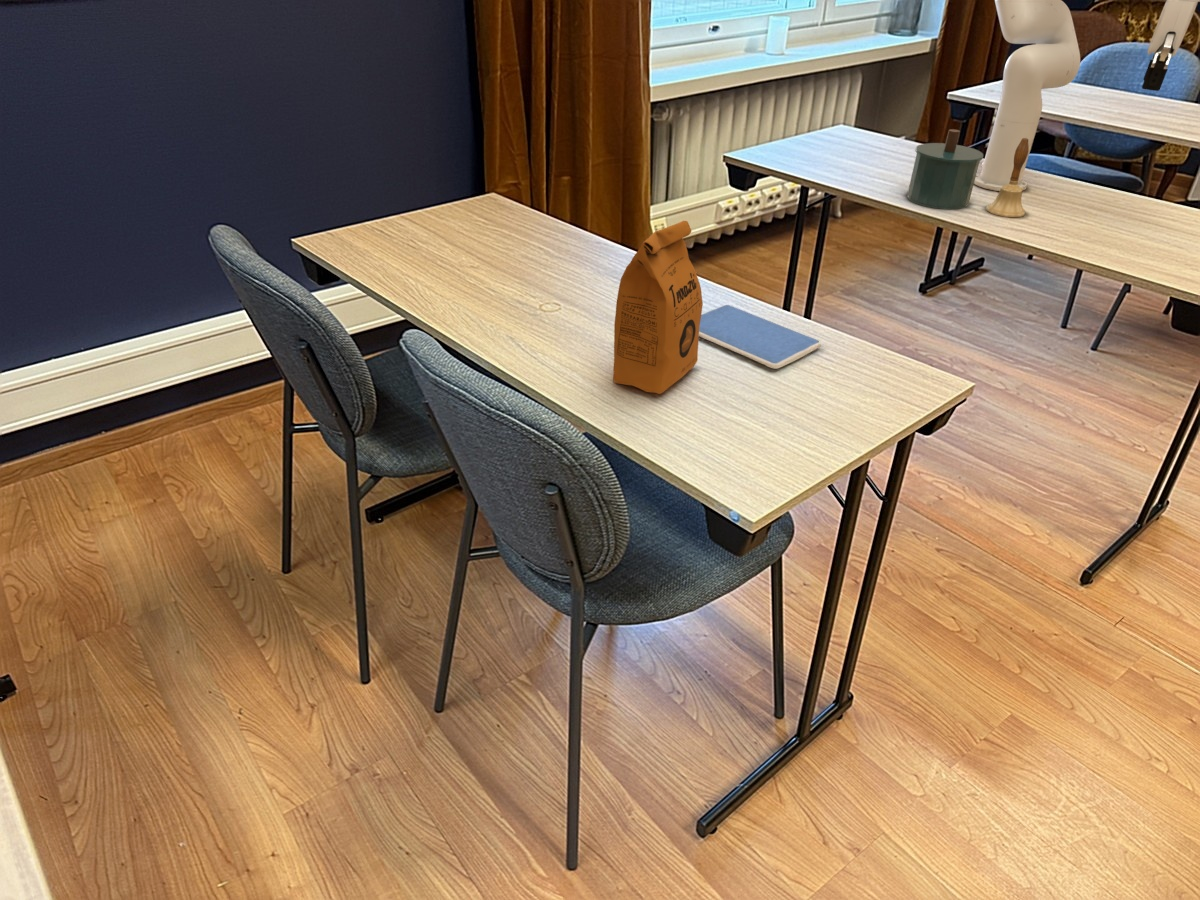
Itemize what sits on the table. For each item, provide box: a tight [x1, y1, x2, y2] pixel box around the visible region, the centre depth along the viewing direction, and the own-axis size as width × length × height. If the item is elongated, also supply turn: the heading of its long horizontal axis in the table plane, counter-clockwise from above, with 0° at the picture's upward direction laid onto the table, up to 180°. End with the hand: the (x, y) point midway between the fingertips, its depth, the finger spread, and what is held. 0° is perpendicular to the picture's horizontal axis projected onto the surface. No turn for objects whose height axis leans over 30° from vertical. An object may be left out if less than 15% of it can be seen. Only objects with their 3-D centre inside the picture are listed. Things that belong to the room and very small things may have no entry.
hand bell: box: [985, 138, 1029, 218], centre depth 190 cm, size 8×8×16 cm
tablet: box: [699, 304, 822, 369], centre depth 135 cm, size 19×13×1 cm, turn 44°
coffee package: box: [612, 220, 704, 394], centre depth 119 cm, size 10×12×22 cm
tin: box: [906, 153, 981, 210], centre depth 198 cm, size 14×14×10 cm
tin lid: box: [914, 128, 984, 163], centre depth 193 cm, size 15×15×6 cm
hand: (1150, 85), depth 174 cm, fingers open, 9 cm apart
